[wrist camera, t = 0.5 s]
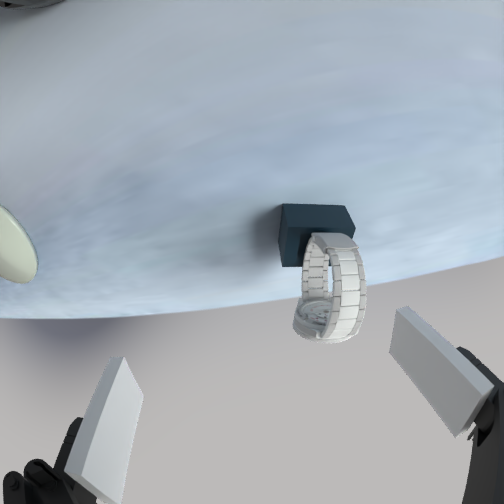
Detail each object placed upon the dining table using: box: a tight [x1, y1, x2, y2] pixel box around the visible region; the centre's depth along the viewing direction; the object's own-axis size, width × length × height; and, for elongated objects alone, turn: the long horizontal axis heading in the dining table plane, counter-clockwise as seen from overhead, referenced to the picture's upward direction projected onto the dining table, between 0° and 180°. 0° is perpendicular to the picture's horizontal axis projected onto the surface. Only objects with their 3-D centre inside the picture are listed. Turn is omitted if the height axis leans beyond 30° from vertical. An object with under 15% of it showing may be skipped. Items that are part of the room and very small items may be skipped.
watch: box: [278, 204, 366, 343], centre depth 20 cm, size 6×8×11 cm
